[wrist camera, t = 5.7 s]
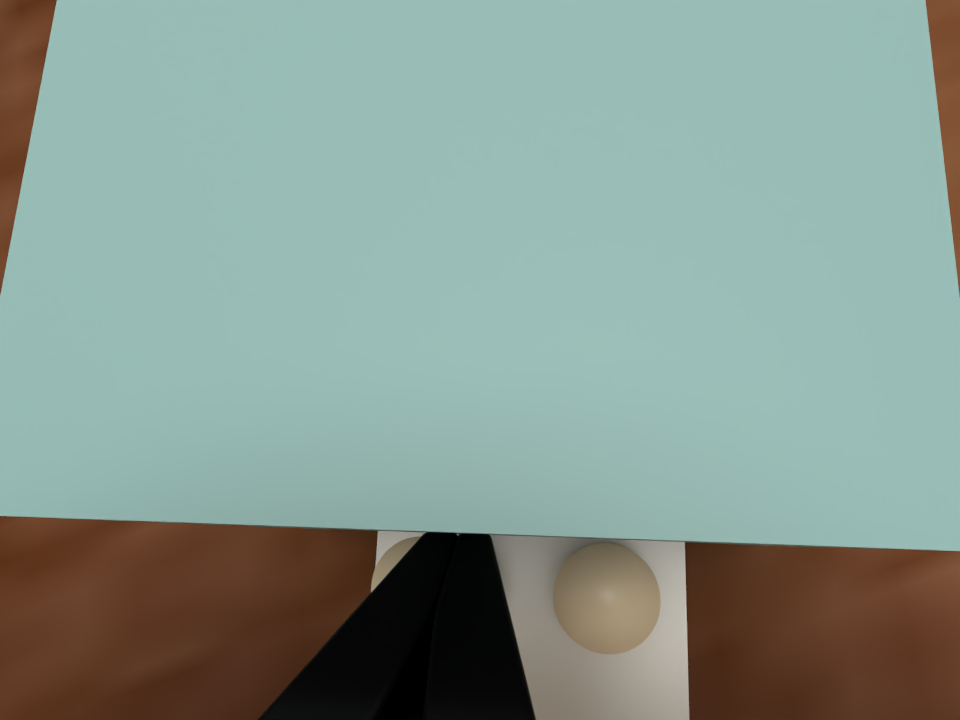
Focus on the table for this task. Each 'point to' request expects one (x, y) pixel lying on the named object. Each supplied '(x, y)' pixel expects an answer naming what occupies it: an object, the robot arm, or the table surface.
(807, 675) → the table surface
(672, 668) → the board
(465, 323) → the housing
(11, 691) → the table surface
